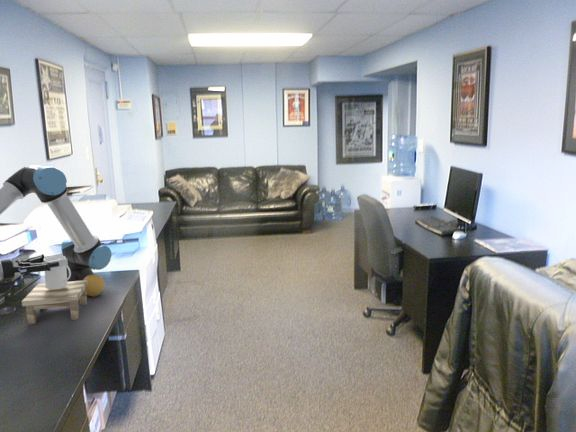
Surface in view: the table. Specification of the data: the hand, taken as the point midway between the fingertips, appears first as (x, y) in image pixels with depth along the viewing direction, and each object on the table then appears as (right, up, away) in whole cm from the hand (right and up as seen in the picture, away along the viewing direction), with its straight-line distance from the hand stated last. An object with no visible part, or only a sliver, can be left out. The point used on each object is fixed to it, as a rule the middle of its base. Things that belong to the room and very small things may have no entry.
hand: (64, 259), depth 191 cm
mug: (-2, -12, 0) cm, 12 cm away
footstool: (-3, -23, +2) cm, 23 cm away
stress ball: (+4, -19, +21) cm, 28 cm away
